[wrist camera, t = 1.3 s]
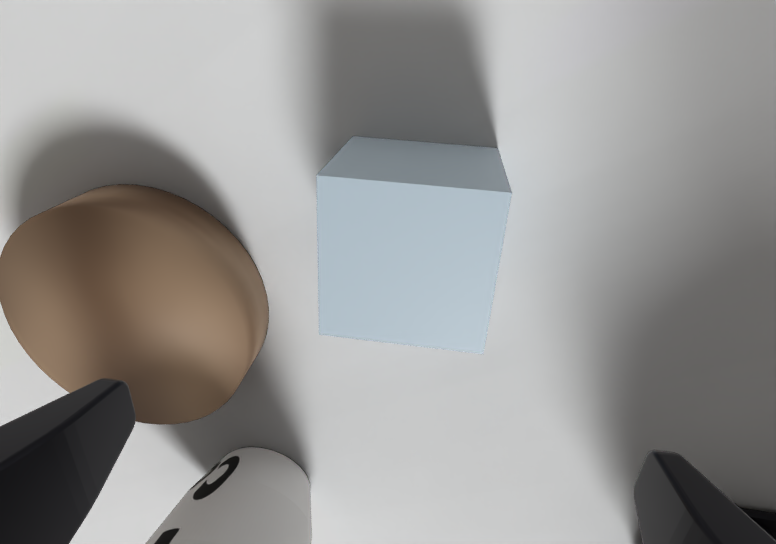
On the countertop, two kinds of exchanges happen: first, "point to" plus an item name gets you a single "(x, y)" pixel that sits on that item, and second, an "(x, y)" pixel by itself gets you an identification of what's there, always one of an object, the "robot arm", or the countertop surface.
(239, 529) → the cup
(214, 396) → the brown shallow bowl
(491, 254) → the block
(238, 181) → the countertop surface
